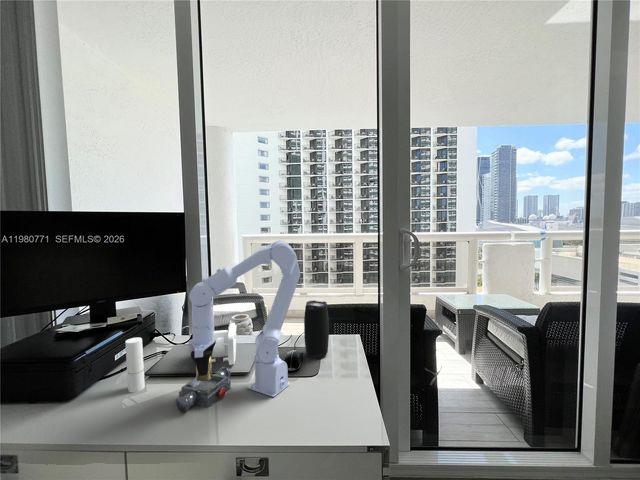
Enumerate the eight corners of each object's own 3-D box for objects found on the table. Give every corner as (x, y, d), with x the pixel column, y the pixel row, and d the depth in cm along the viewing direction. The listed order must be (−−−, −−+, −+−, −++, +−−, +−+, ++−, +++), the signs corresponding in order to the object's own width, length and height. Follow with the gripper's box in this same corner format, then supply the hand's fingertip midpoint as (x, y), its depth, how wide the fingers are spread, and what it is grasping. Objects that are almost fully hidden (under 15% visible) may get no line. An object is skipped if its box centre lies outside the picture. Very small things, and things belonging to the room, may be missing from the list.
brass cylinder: (215, 375, 93) (214, 356, 92) (203, 382, 89) (202, 362, 89) (205, 372, 95) (204, 353, 95) (193, 379, 91) (192, 358, 91)
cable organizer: (208, 353, 121) (207, 323, 120) (237, 350, 123) (236, 320, 122) (203, 371, 106) (201, 337, 105) (236, 368, 108) (234, 334, 108)
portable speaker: (332, 351, 120) (332, 300, 119) (321, 362, 112) (321, 307, 110) (312, 347, 124) (311, 298, 122) (300, 357, 115) (299, 304, 114)
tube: (137, 393, 94) (134, 343, 93) (124, 391, 95) (121, 342, 93) (148, 385, 98) (145, 337, 97) (135, 384, 99) (133, 337, 98)
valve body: (212, 376, 103) (211, 364, 103) (241, 382, 99) (241, 369, 99) (167, 408, 86) (167, 394, 85) (201, 417, 82) (200, 402, 82)
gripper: (193, 317, 97) (195, 360, 98) (181, 335, 83) (183, 385, 84) (217, 316, 99) (219, 359, 100) (209, 333, 84) (211, 382, 85)
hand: (204, 371), depth 92 cm, fingers closed on brass cylinder, 4 cm apart
